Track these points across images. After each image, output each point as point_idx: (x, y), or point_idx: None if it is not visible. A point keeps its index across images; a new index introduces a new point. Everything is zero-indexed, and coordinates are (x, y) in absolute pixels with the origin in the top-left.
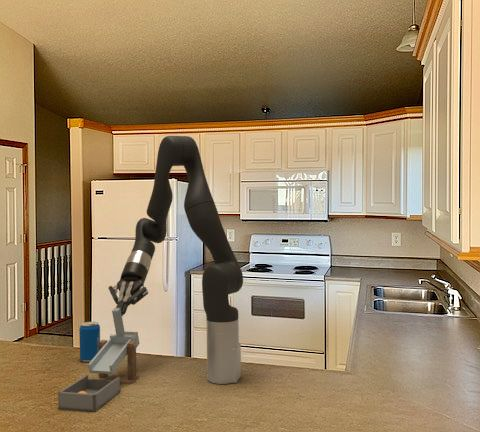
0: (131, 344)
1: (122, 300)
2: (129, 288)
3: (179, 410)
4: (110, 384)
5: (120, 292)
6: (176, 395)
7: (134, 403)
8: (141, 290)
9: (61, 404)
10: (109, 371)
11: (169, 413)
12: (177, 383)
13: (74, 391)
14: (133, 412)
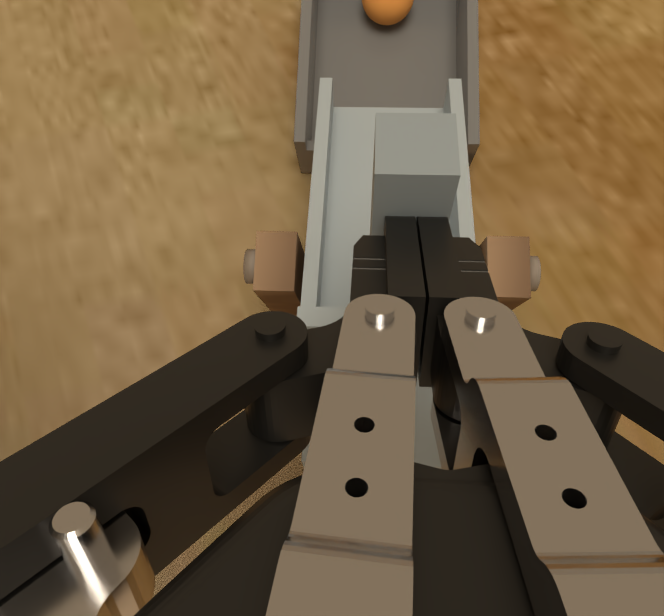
0: (264, 233)
1: (443, 347)
2: (364, 501)
3: (8, 47)
4: (299, 58)
5: (549, 394)
6: (50, 175)
7: (194, 76)
8: (39, 473)
9: None
10: (337, 107)
11: (38, 19)
12: (77, 307)
13: (461, 54)
14: (169, 6)
